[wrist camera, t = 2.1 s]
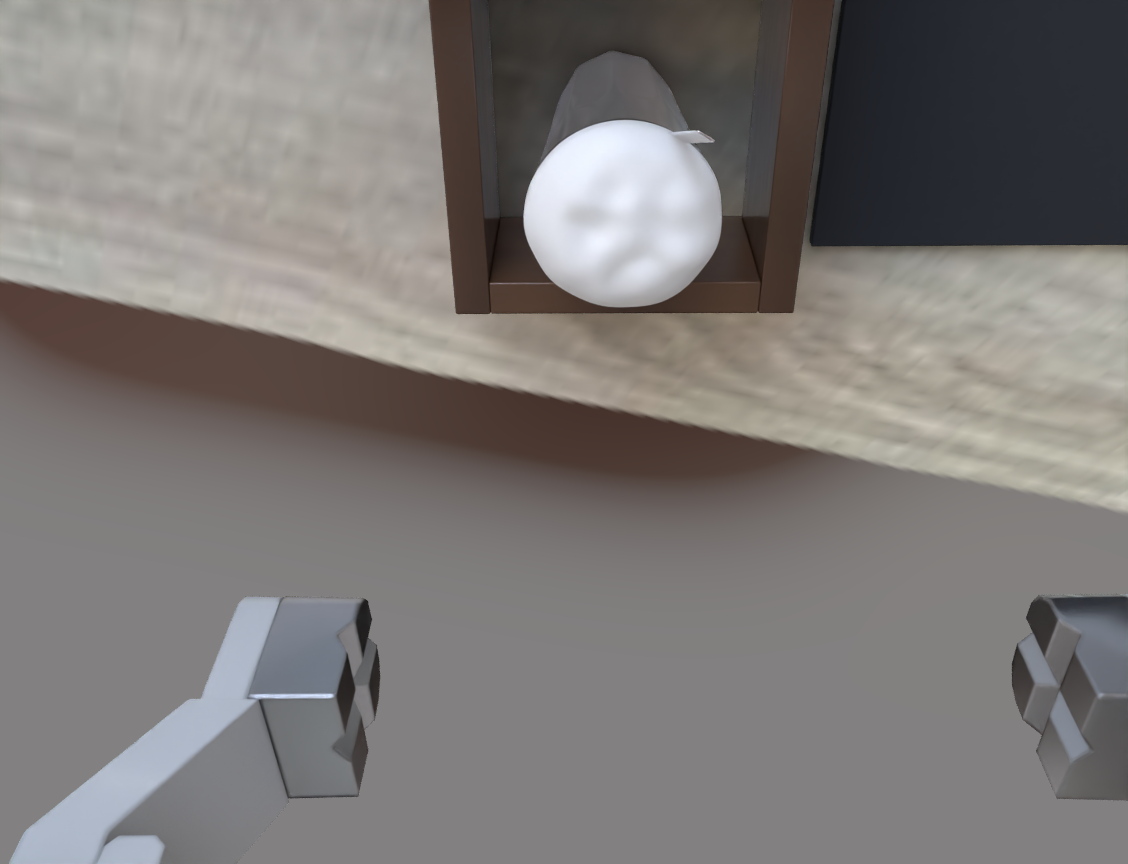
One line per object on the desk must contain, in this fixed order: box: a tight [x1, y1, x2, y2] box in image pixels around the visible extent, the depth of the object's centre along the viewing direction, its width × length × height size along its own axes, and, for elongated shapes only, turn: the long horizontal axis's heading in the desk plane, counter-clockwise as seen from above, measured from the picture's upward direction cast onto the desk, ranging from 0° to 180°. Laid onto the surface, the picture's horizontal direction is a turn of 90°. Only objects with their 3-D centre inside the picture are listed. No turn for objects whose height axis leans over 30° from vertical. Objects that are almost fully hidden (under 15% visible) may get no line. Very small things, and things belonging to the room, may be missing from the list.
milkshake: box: [524, 50, 722, 307], centre depth 26 cm, size 5×5×10 cm
